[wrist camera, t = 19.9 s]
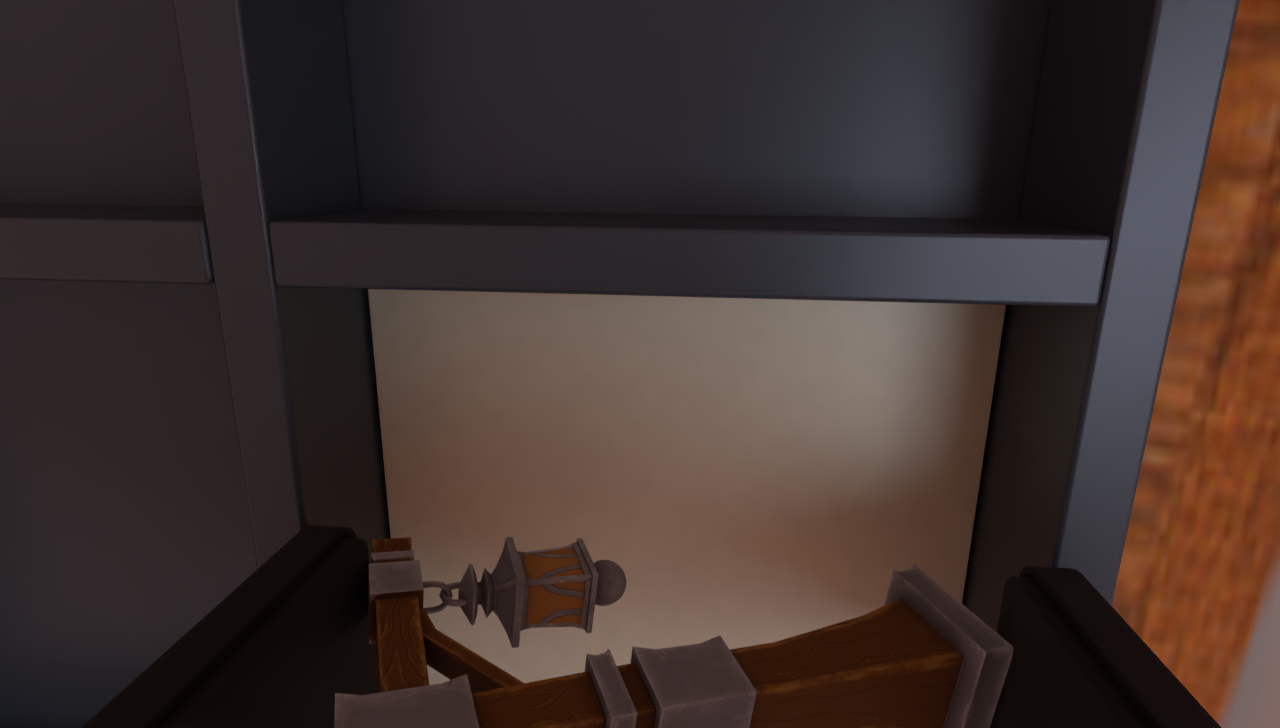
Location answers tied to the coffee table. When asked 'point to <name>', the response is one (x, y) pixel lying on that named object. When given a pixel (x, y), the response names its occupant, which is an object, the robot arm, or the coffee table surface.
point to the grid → (578, 304)
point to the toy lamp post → (668, 658)
